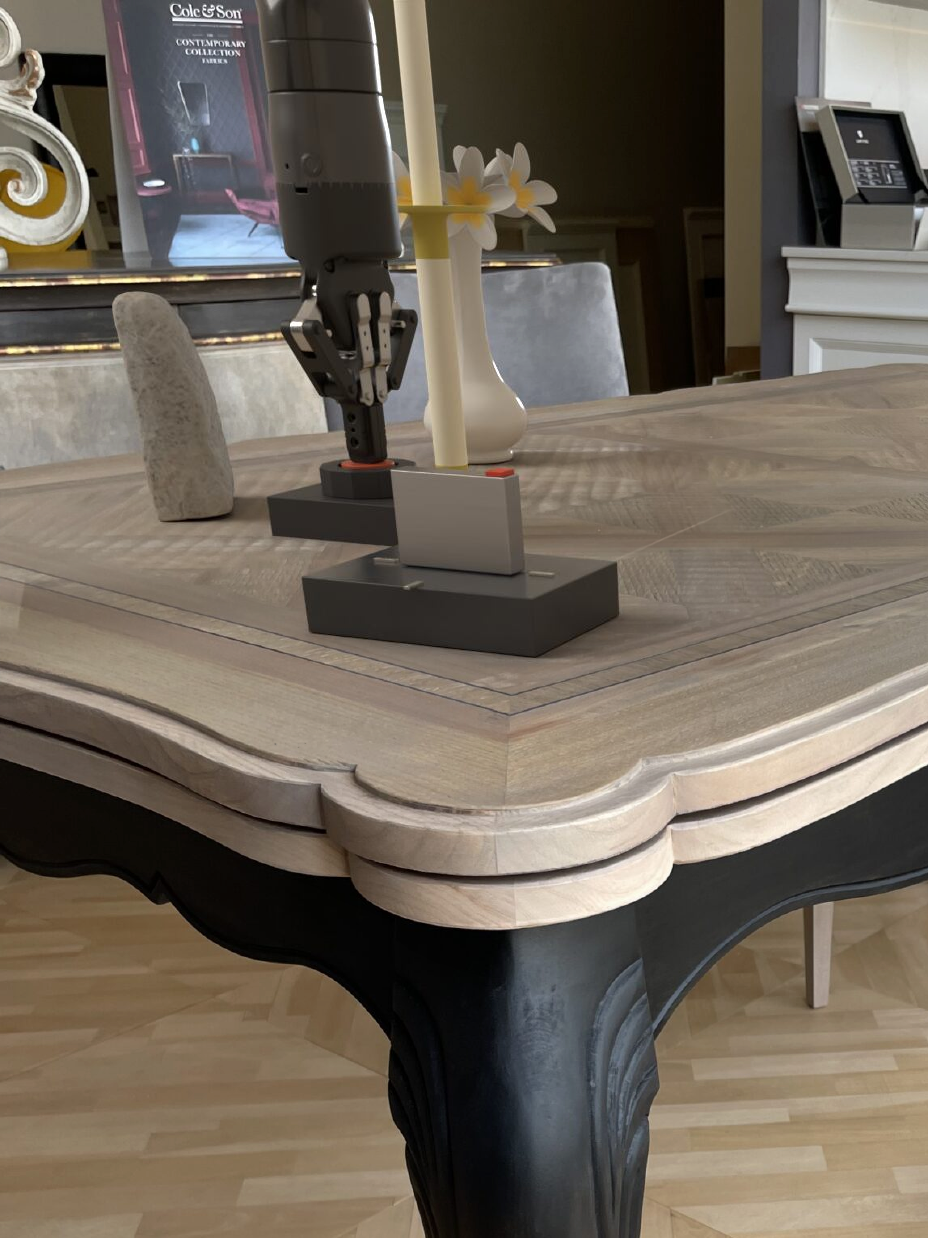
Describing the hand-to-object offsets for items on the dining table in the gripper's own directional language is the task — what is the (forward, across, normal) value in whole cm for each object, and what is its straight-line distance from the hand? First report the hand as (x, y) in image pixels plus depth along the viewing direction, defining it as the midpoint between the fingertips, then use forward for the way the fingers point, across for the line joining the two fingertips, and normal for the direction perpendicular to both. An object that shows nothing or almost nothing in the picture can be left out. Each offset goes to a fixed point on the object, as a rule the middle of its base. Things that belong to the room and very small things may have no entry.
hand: (368, 461), depth 106 cm
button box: (+5, 0, 0) cm, 5 cm away
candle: (+5, -14, -2) cm, 15 cm away
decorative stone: (+5, -2, -17) cm, 18 cm away
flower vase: (+5, -32, -11) cm, 34 cm away
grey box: (+2, +21, +20) cm, 29 cm away
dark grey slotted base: (+5, +21, +20) cm, 29 cm away
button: (+2, 0, 0) cm, 2 cm away
